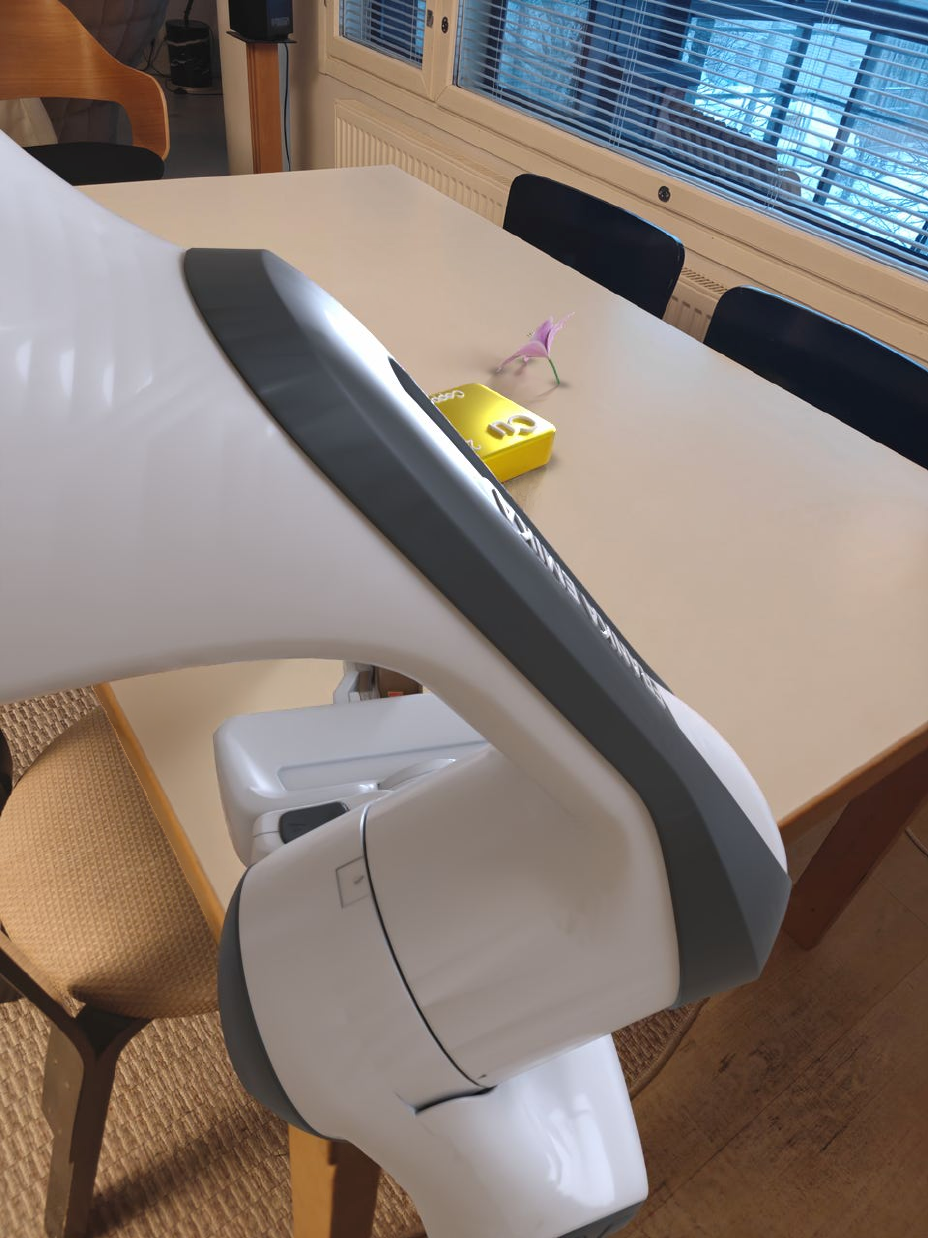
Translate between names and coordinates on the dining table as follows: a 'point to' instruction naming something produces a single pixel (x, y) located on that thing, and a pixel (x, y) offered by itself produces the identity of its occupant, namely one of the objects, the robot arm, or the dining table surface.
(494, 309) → the dining table surface
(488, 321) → the dining table surface
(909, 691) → the dining table surface
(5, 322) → the robot arm
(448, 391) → the element tile
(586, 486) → the dining table surface
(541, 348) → the lily
